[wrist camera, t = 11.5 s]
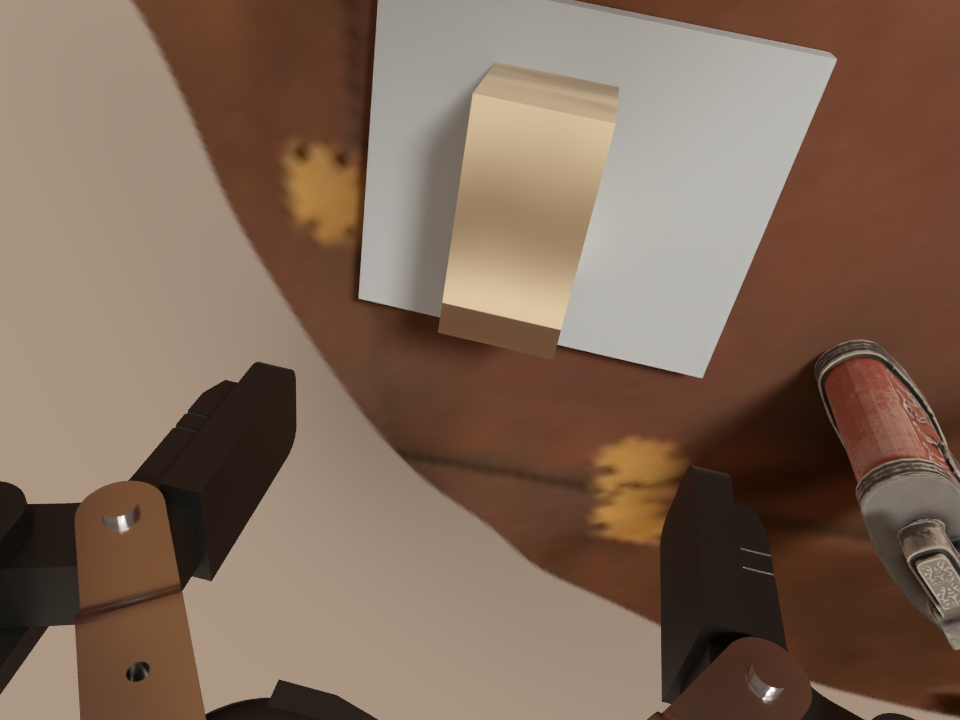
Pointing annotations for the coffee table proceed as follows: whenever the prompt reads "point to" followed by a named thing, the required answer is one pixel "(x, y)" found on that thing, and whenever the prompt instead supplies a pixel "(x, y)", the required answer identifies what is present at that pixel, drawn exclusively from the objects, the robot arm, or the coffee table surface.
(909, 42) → the coffee table surface
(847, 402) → the lighter
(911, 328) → the coffee table surface
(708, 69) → the mat
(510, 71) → the block
